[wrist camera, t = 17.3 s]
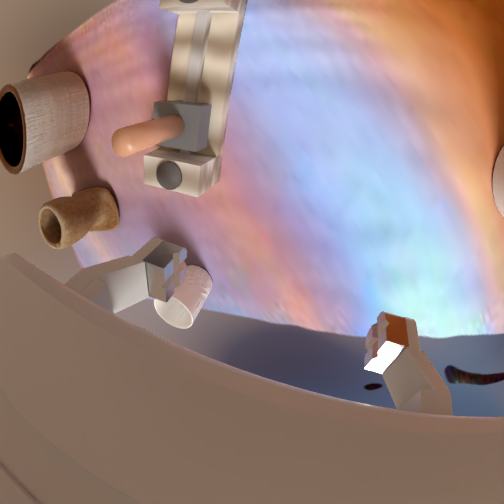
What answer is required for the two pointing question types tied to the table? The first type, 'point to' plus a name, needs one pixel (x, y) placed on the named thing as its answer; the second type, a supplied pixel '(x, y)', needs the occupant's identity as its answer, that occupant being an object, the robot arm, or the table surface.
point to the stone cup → (77, 216)
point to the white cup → (186, 298)
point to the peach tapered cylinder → (167, 128)
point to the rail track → (199, 89)
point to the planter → (42, 119)
